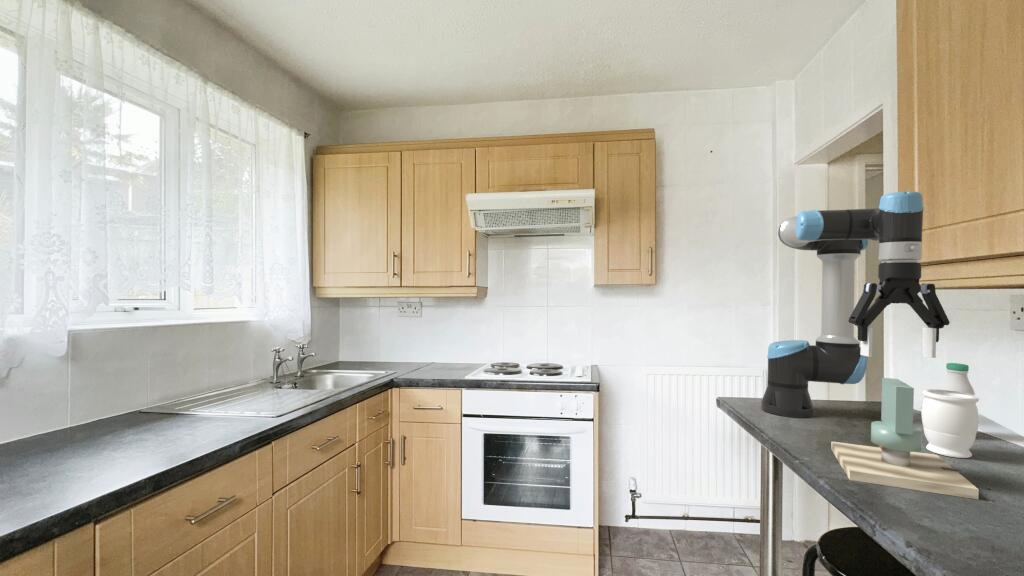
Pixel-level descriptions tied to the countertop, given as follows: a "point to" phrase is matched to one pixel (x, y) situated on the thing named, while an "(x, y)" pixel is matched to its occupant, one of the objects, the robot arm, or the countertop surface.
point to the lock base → (902, 469)
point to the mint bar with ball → (897, 418)
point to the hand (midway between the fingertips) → (897, 356)
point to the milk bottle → (957, 379)
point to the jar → (950, 422)
